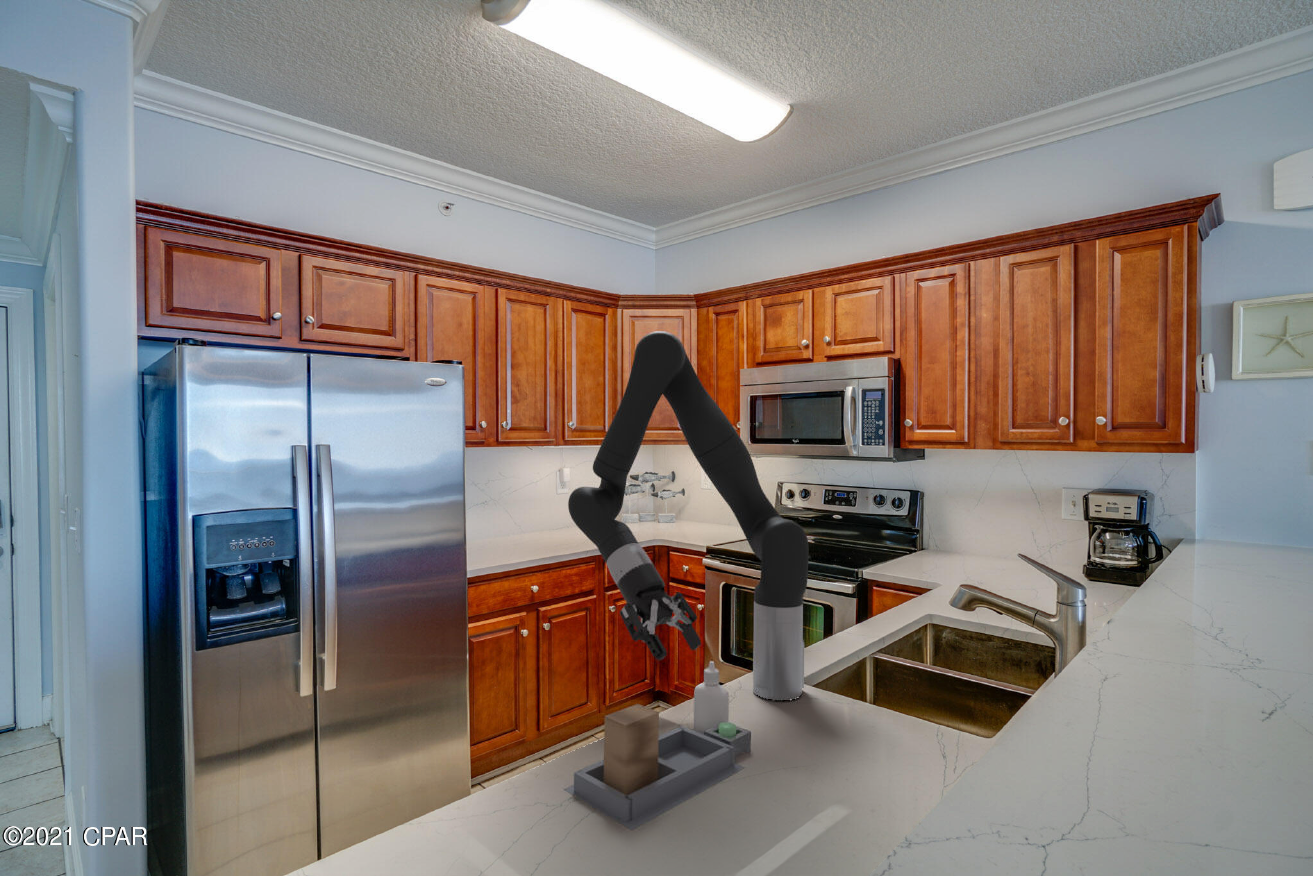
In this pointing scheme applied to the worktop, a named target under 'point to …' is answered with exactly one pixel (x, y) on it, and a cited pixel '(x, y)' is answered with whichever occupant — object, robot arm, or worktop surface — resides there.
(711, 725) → the eye dropper bottle
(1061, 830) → the worktop surface
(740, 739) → the button box
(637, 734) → the walnut block
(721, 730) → the button
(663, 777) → the tray
